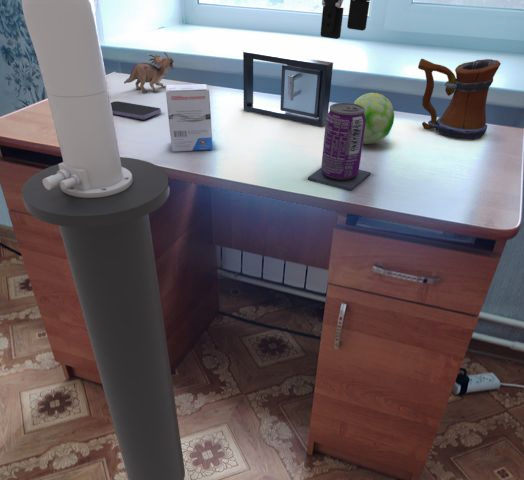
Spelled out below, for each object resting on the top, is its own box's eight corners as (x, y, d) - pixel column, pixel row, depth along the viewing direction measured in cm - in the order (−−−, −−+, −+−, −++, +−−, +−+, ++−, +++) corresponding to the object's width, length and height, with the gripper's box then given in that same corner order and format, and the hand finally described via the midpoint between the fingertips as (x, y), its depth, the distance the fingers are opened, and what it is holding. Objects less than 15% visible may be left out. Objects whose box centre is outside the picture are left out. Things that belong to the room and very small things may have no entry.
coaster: (351, 191, 92) (351, 188, 92) (307, 179, 95) (307, 177, 95) (370, 174, 98) (370, 172, 97) (328, 164, 101) (328, 162, 101)
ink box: (210, 142, 110) (207, 82, 102) (212, 150, 106) (209, 89, 98) (170, 143, 108) (164, 83, 100) (171, 152, 105) (165, 90, 97)
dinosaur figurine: (175, 86, 142) (172, 48, 136) (176, 92, 138) (173, 53, 132) (125, 88, 140) (120, 49, 134) (125, 93, 136) (119, 54, 130)
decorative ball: (340, 135, 114) (345, 87, 108) (382, 134, 115) (391, 87, 108) (350, 151, 107) (356, 100, 100) (395, 150, 108) (405, 100, 101)
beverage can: (359, 169, 98) (369, 103, 90) (356, 184, 93) (366, 115, 85) (323, 165, 99) (329, 100, 91) (318, 179, 94) (324, 111, 86)
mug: (405, 135, 115) (420, 61, 105) (406, 119, 123) (419, 50, 114) (487, 143, 112) (510, 67, 102) (482, 126, 121) (503, 55, 111)
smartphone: (116, 100, 129) (162, 108, 123) (116, 105, 129) (163, 113, 124) (95, 107, 124) (143, 116, 118) (96, 112, 124) (143, 121, 119)
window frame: (321, 127, 118) (327, 65, 110) (243, 110, 127) (243, 51, 118) (327, 123, 120) (333, 62, 112) (249, 107, 129) (250, 49, 120)
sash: (306, 124, 115) (309, 76, 108) (269, 116, 119) (270, 69, 112) (318, 117, 119) (322, 71, 112) (281, 109, 122) (283, 64, 116)
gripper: (361, -108, 77) (345, 23, 89) (307, -114, 66) (297, 37, 77) (408, -106, 74) (385, 29, 86) (360, -112, 63) (341, 44, 75)
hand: (343, 33), depth 82 cm, fingers open, 9 cm apart
